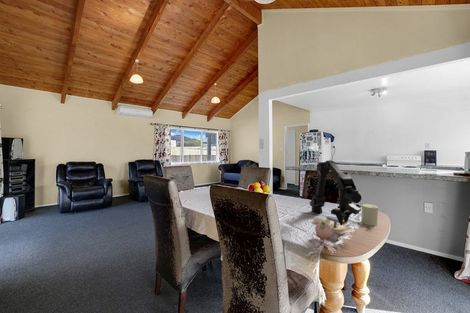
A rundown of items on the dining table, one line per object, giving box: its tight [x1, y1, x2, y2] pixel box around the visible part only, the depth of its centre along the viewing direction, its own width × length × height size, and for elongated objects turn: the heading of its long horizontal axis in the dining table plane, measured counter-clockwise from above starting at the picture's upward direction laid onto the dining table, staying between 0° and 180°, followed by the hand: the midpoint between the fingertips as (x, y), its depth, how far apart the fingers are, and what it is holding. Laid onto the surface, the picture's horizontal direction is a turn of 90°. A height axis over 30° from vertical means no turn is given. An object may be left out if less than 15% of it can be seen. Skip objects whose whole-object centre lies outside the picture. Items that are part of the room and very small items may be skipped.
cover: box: [313, 215, 331, 224], centre depth 141 cm, size 8×6×3 cm
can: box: [360, 203, 379, 227], centre depth 145 cm, size 9×9×12 cm
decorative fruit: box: [314, 222, 333, 241], centre depth 120 cm, size 9×8×10 cm
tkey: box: [325, 216, 346, 227], centre depth 134 cm, size 11×2×5 cm, turn 36°
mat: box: [292, 225, 307, 232], centre depth 137 cm, size 10×10×1 cm
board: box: [308, 220, 355, 235], centre depth 137 cm, size 22×14×2 cm, turn 36°
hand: (343, 224), depth 130 cm, fingers open, 5 cm apart
